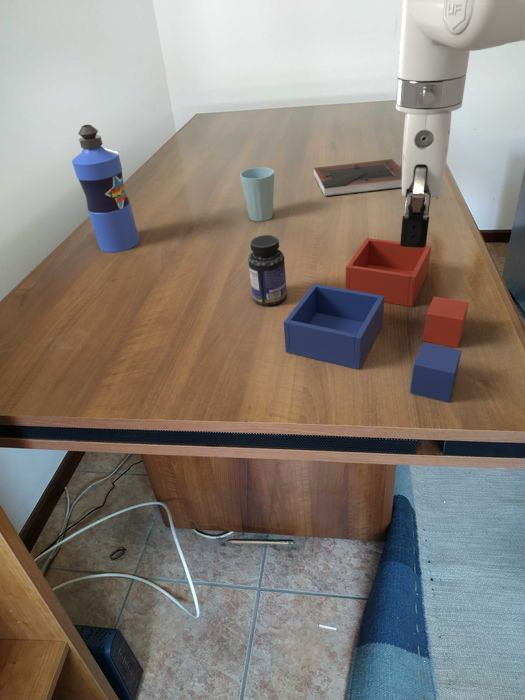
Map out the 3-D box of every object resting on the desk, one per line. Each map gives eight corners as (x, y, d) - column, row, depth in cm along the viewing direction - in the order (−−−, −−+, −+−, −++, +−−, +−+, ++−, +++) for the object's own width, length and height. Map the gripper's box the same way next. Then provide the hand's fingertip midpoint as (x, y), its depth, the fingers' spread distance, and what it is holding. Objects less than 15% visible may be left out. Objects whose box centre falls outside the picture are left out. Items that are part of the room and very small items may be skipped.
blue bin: (382, 326, 79) (384, 295, 75) (359, 369, 71) (360, 338, 68) (314, 312, 84) (313, 283, 80) (285, 352, 76) (283, 321, 72)
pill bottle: (290, 290, 90) (287, 233, 83) (282, 308, 85) (278, 250, 79) (257, 288, 92) (252, 232, 85) (248, 305, 87) (241, 248, 80)
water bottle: (147, 235, 115) (119, 119, 99) (125, 254, 108) (92, 132, 93) (113, 233, 118) (81, 119, 102) (90, 250, 111) (51, 132, 96)
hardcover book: (324, 197, 124) (410, 187, 124) (324, 187, 123) (411, 177, 123) (314, 176, 137) (391, 167, 137) (313, 166, 136) (392, 158, 136)
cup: (283, 218, 116) (280, 173, 109) (252, 226, 114) (247, 181, 107) (269, 208, 121) (265, 165, 115) (240, 215, 119) (235, 172, 113)
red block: (463, 329, 76) (468, 302, 73) (457, 348, 73) (463, 320, 70) (430, 323, 78) (434, 296, 75) (422, 341, 75) (426, 313, 72)
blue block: (455, 379, 68) (461, 350, 65) (448, 402, 64) (454, 373, 61) (418, 370, 70) (422, 342, 67) (409, 393, 66) (413, 364, 63)
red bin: (427, 274, 90) (431, 245, 87) (412, 307, 82) (415, 277, 79) (365, 264, 95) (366, 237, 92) (345, 295, 87) (345, 266, 84)
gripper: (465, 110, 51) (442, 261, 61) (462, 77, 63) (444, 207, 74) (389, 112, 53) (380, 258, 63) (401, 80, 66) (392, 205, 76)
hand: (414, 230), depth 68 cm, fingers open, 9 cm apart
